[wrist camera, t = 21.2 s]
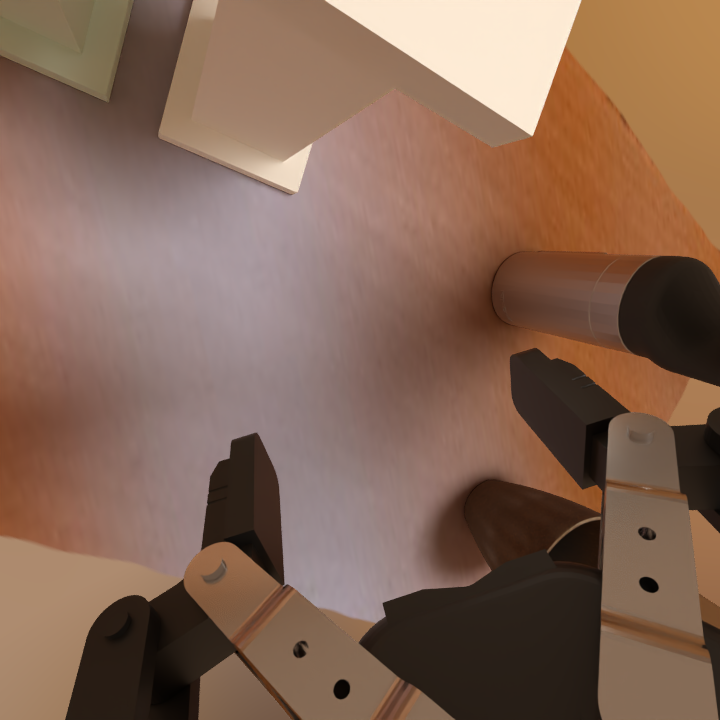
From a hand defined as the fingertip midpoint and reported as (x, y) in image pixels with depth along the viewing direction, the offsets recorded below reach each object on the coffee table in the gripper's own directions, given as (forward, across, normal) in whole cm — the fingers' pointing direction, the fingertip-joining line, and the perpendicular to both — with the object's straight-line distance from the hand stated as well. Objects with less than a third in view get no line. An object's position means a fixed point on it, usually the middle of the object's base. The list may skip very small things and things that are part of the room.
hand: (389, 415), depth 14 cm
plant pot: (+30, -13, +45) cm, 56 cm away
